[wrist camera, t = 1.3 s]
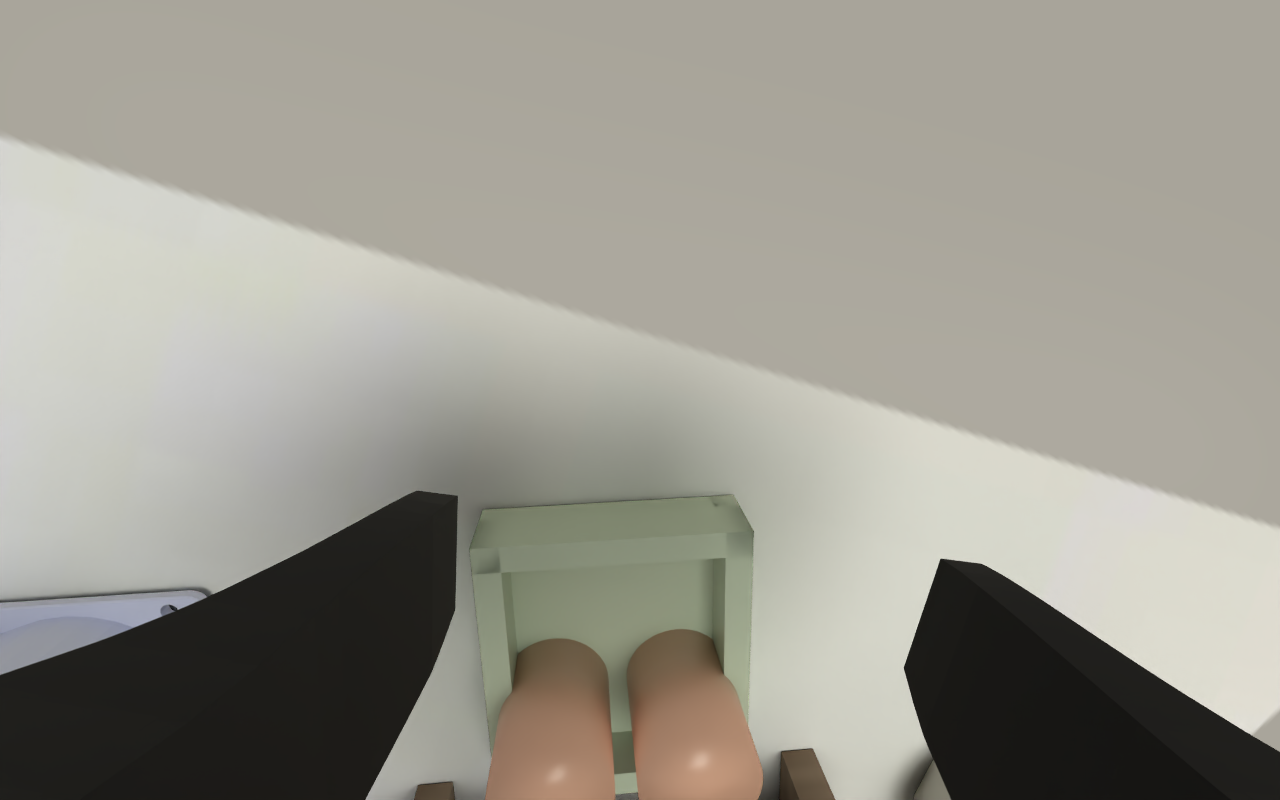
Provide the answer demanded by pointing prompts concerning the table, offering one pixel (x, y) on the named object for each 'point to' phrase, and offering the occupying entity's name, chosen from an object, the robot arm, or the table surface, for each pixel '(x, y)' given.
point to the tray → (617, 649)
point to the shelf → (800, 780)
